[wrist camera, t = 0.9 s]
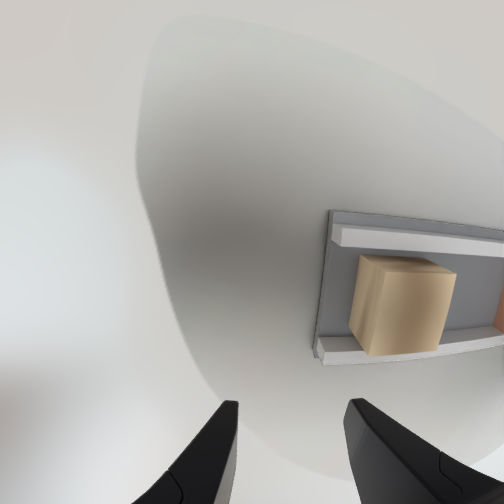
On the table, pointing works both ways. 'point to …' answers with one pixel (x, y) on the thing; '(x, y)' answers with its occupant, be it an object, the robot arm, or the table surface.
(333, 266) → the channel
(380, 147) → the table surface
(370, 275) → the tan block
